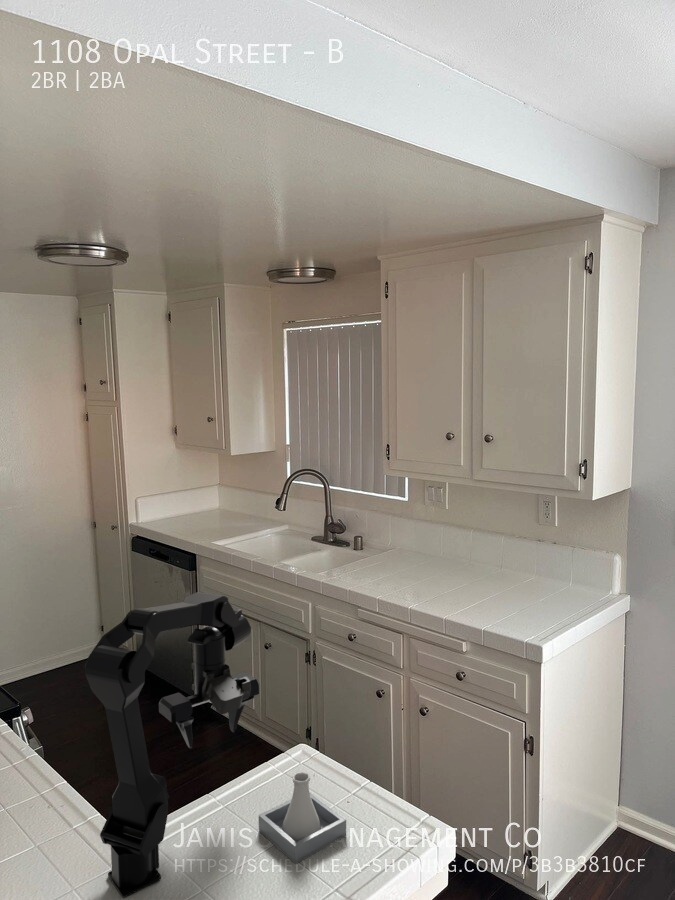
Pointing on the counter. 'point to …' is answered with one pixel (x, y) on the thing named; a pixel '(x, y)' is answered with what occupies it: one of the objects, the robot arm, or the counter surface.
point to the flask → (301, 810)
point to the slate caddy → (297, 851)
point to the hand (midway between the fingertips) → (211, 739)
